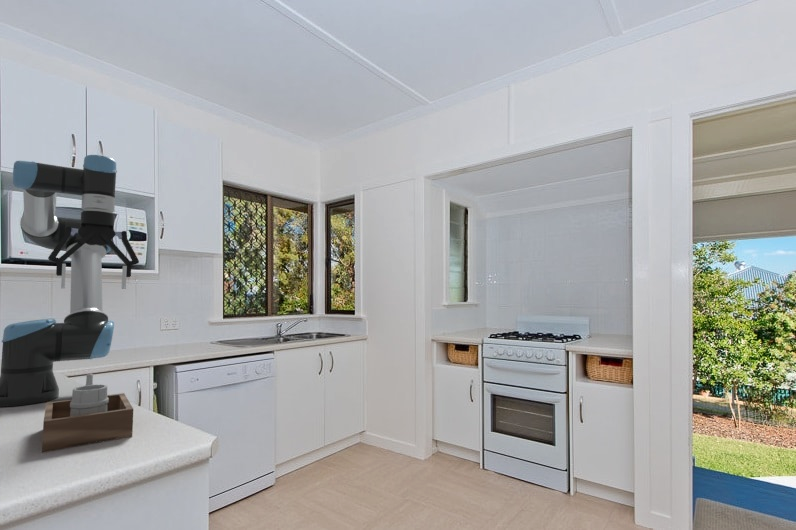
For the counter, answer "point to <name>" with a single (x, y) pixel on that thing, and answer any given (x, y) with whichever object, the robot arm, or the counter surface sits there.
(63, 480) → the counter surface
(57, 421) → the wooden box
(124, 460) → the counter surface
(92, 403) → the mug
